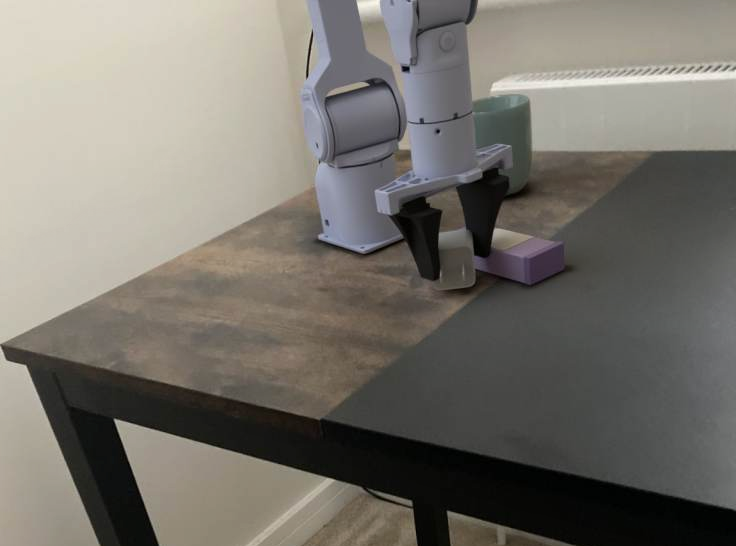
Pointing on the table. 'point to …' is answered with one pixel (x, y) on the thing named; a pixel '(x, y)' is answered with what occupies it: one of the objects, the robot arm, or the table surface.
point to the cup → (506, 132)
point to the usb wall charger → (456, 260)
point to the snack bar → (521, 257)
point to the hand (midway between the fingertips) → (455, 266)
